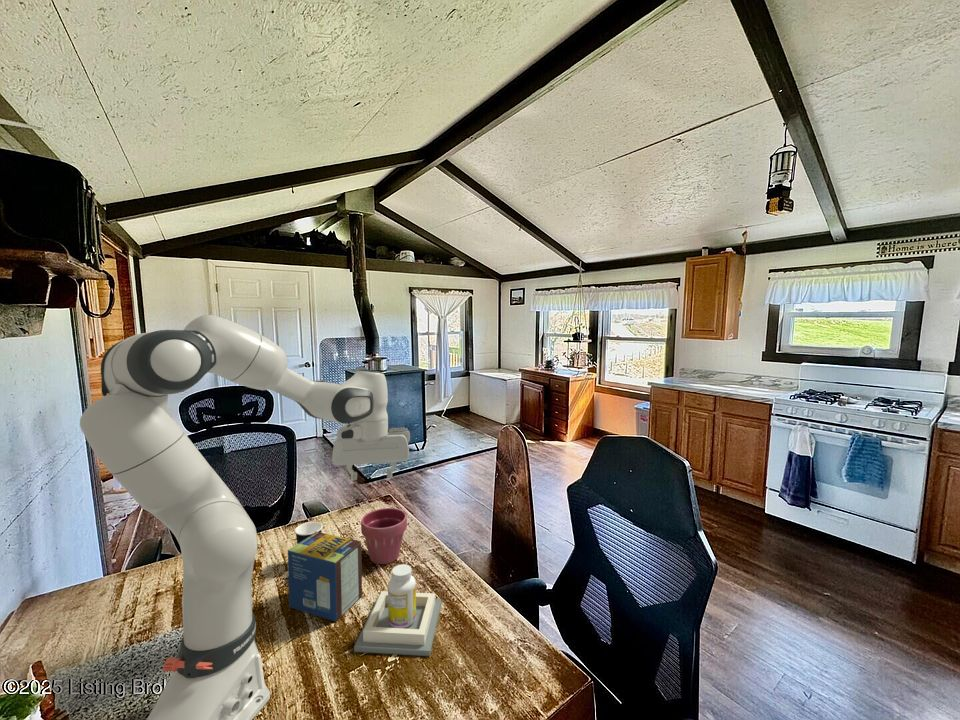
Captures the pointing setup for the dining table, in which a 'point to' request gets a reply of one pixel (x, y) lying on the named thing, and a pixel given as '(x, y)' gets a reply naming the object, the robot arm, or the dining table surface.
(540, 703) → the dining table surface
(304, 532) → the dixie cup
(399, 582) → the supplement bottle
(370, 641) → the picture frame
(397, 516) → the plant pot
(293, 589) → the protein box
